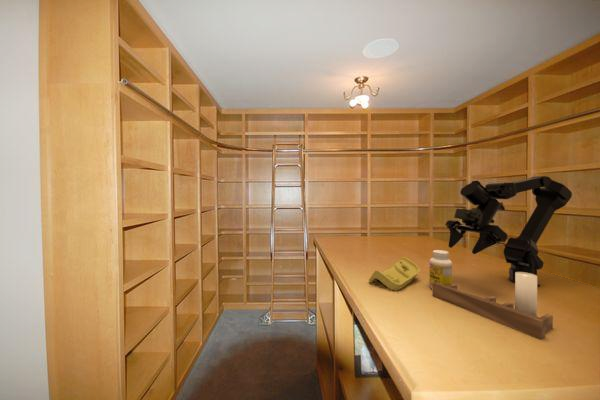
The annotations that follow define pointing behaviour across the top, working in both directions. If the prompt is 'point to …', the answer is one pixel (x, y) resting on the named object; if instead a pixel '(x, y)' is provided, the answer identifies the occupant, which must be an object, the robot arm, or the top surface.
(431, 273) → the supplement bottle
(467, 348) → the top surface
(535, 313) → the white pillar candle
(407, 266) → the plastic component
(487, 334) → the top surface
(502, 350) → the top surface
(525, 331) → the walnut holder rail
